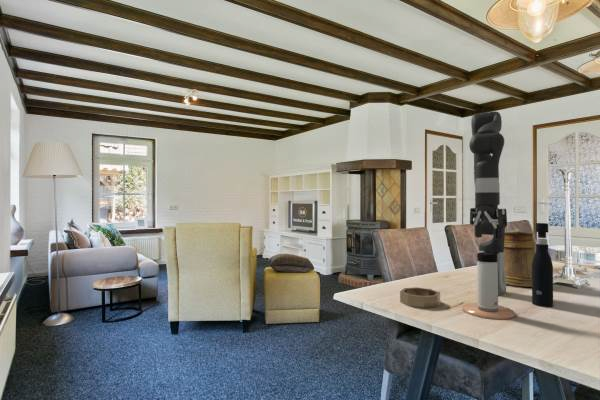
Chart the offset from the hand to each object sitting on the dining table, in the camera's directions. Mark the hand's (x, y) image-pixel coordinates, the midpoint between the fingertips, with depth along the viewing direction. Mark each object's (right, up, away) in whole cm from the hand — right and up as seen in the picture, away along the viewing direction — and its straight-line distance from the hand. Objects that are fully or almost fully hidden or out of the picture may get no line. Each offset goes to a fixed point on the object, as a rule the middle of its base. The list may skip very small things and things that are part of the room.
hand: (487, 238), depth 122 cm
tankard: (+38, -26, +45) cm, 64 cm away
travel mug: (0, -25, 0) cm, 25 cm away
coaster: (0, -25, 0) cm, 25 cm away
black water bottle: (+25, -26, +8) cm, 36 cm away
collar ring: (-20, -25, +11) cm, 34 cm away
